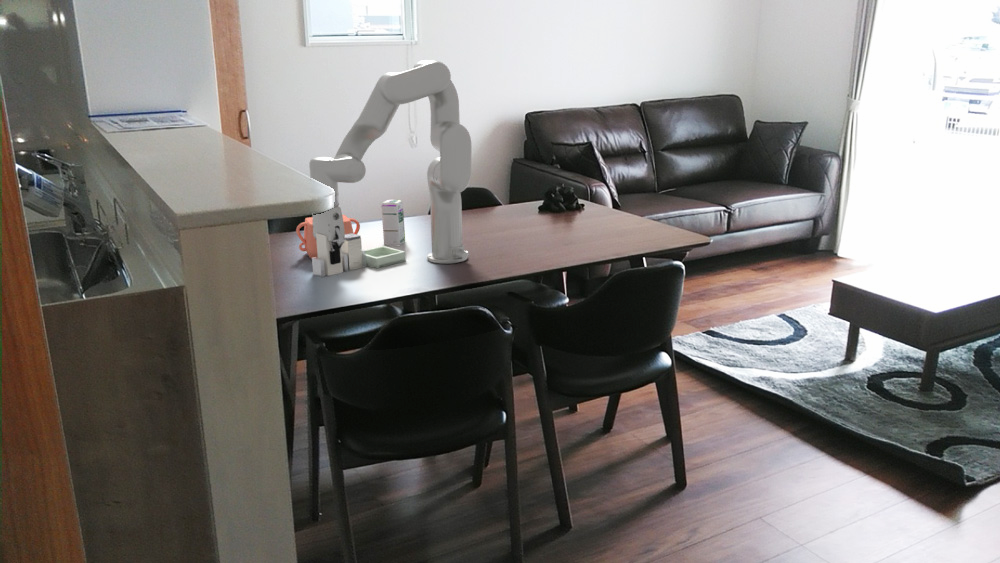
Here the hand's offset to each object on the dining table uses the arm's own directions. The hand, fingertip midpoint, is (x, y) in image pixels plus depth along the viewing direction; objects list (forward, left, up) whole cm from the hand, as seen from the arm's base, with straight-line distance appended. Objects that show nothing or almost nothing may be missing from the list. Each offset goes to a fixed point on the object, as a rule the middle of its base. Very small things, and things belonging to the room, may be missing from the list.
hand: (330, 261), depth 234 cm
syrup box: (+14, -35, -4) cm, 37 cm away
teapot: (+20, -13, -4) cm, 24 cm away
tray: (-1, -18, -3) cm, 18 cm away
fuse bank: (0, -4, -3) cm, 5 cm away
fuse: (0, 0, -3) cm, 3 cm away
